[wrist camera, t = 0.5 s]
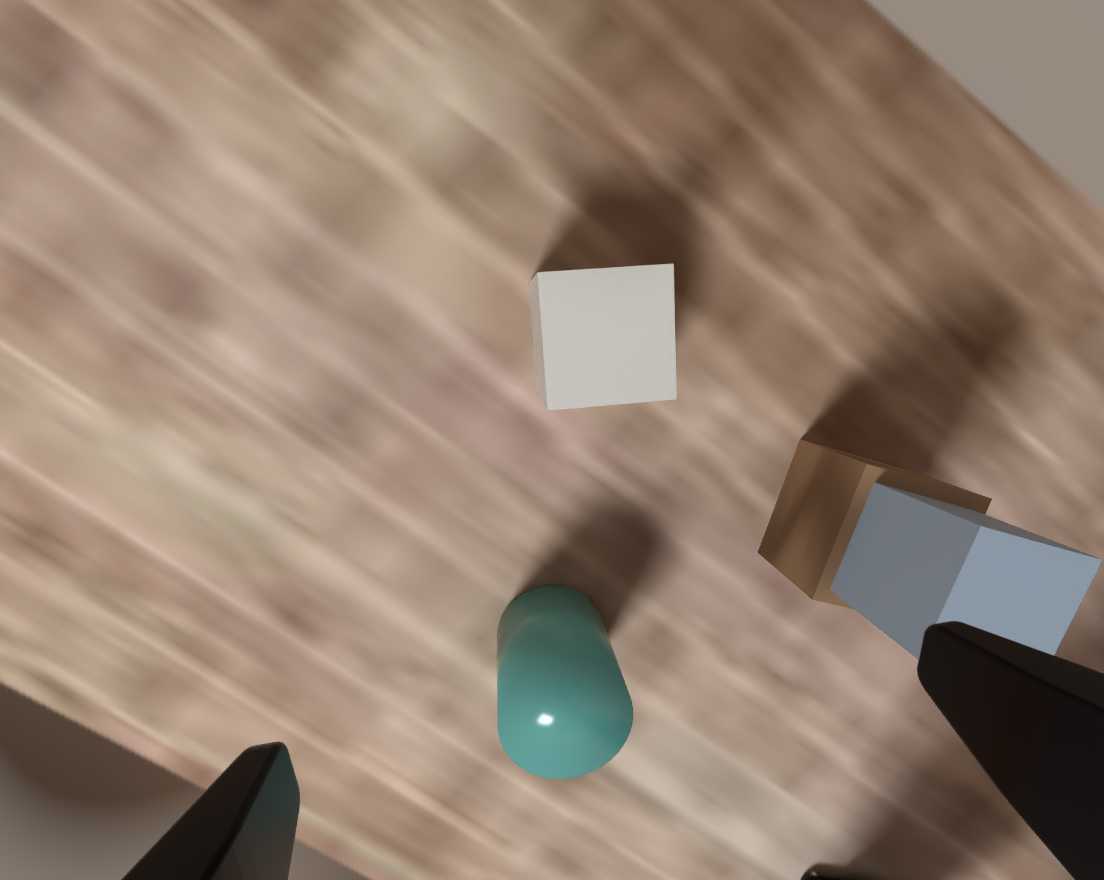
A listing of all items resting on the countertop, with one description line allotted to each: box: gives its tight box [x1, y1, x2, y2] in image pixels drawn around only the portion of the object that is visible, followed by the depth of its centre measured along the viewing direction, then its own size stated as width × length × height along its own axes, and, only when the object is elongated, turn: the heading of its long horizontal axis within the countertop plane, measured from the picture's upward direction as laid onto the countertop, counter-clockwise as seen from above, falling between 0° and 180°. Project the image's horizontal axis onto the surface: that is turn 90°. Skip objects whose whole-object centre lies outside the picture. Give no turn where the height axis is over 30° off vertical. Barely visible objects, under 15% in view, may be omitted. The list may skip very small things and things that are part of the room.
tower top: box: [830, 482, 1102, 660], centre depth 16 cm, size 4×4×4 cm
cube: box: [529, 264, 676, 410], centre depth 18 cm, size 4×4×4 cm
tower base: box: [758, 439, 992, 609], centre depth 20 cm, size 5×5×4 cm
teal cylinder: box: [497, 585, 633, 779], centre depth 20 cm, size 4×4×5 cm
